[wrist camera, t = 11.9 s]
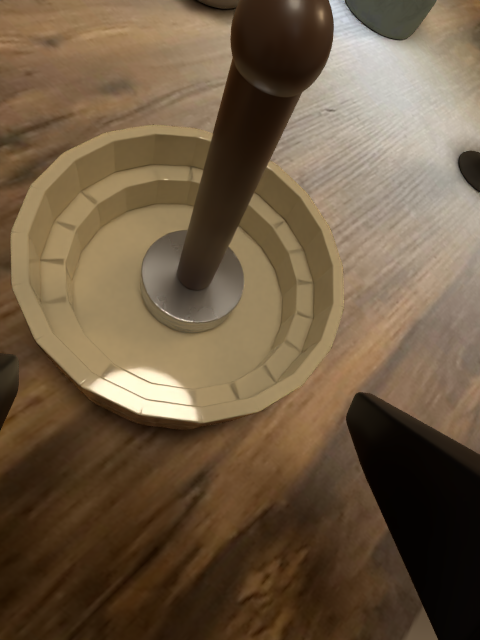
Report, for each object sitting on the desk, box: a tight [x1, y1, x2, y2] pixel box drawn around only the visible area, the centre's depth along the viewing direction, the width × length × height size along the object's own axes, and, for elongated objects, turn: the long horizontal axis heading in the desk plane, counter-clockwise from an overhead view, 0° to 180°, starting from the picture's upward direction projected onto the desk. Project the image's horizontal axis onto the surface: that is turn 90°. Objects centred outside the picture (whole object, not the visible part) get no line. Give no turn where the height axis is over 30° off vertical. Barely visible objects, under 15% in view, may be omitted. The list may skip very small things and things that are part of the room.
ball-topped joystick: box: [140, 0, 334, 333], centre depth 13 cm, size 5×5×14 cm
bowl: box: [10, 124, 344, 430], centre depth 17 cm, size 14×14×4 cm
